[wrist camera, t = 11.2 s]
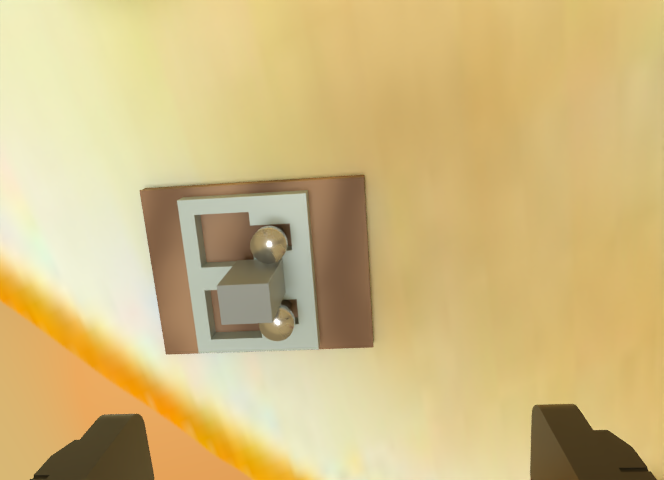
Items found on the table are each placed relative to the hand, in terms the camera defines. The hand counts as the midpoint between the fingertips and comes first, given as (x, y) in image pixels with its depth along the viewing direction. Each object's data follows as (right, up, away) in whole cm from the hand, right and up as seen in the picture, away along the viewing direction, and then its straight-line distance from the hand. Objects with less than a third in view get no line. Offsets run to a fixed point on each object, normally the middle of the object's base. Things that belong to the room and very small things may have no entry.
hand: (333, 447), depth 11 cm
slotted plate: (-5, +2, +26) cm, 26 cm away
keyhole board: (-5, +2, +27) cm, 27 cm away
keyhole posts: (-3, +2, +27) cm, 27 cm away
